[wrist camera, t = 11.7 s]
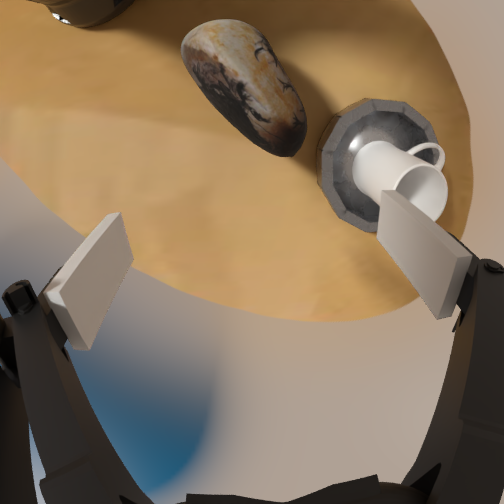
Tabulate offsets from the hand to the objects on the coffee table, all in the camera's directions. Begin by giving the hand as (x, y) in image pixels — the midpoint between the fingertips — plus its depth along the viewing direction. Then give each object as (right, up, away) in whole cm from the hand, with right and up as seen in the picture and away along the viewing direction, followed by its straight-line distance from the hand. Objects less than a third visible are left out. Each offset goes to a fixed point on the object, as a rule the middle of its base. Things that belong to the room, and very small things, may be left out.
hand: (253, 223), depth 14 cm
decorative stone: (-1, +20, +20) cm, 28 cm away
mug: (+19, +12, +25) cm, 33 cm away
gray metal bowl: (+18, +11, +25) cm, 33 cm away
